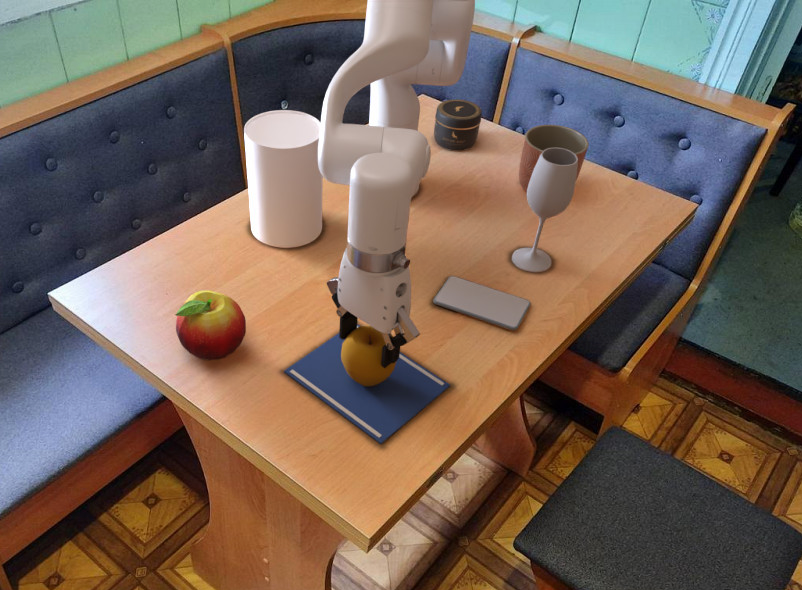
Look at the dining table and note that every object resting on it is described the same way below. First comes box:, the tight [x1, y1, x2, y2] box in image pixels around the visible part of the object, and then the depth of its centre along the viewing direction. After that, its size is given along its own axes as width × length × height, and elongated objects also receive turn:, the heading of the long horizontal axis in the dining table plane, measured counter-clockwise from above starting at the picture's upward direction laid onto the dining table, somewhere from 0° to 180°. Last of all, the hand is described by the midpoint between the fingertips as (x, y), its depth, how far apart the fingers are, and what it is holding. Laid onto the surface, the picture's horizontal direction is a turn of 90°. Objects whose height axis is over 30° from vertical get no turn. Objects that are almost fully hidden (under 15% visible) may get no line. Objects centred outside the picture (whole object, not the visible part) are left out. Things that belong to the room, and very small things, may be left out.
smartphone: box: [433, 275, 532, 331], centre depth 124 cm, size 8×1×15 cm
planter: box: [518, 124, 590, 192], centre depth 147 cm, size 12×12×11 cm
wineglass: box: [511, 148, 578, 273], centre depth 126 cm, size 8×8×21 cm
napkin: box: [283, 323, 451, 445], centre depth 111 cm, size 20×16×1 cm
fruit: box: [174, 289, 247, 361], centre depth 112 cm, size 11×11×10 cm
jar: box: [433, 98, 483, 152], centre depth 161 cm, size 10×10×8 cm
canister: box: [243, 109, 324, 249], centre depth 132 cm, size 14×14×20 cm
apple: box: [341, 325, 396, 386], centre depth 108 cm, size 8×8×9 cm
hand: (368, 347), depth 106 cm, fingers closed on apple, 7 cm apart
